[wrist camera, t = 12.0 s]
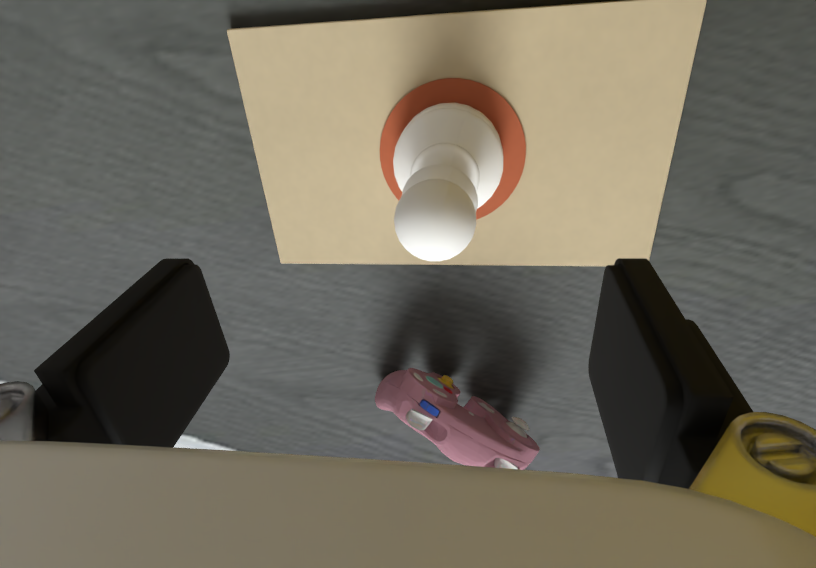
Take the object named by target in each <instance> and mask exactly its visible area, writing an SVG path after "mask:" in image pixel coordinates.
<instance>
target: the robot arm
mask: <svg viewBox="0 0 816 568" xmlns="http://www.w3.org/2000/svg"><path fill="white" fill-rule="evenodd" d="M229 357H230V356H229V349H228V346H227V344H226V341H225V338H224V335H223V332H222V329H221V326H220V323H219V320H218V317H217V315H216V312H215V309H214V306H213V303H212V300H211V297H210V294H209V291H208V289H207V286H206V283H205V280H204V277H203V274H202V271H201V269H200V267H199V266H198V265H194V263H193V262H192V261H191V260H190V259H163V260H161V261H160V262H159V263H158V264H157V265H155V266H154V267H153V268H152V269H151V270H150V271H148V272H147V273H146V274H145V275H144V276H143V277H142V278H140V279H139V280H138V281H137V282H136V283H135V284H133V285H132V286H131V287H130V288H129V289H128V290H126V291H125V292H124V293H123V294H122V295H121V296H120V297H118V298H117V299H116V300H115V301H114V302H113V303H111V304H110V305H109V306H108V307H107V308H106V309H105V310H103V311H102V312H101V313H100V314H99V315H98V316H96V317H95V318H94V319H93V320H92V321H91V322H90V323H88V324H87V325H86V326H85V327H84V328H83V329H81V330H80V331H79V332H78V333H77V334H76V335H74V336H73V337H72V338H71V339H70V340H69V341H68V342H66V343H65V344H64V345H63V346H62V347H61V348H59V349H58V350H57V351H56V352H55V353H54V354H53V355H51V356H50V357H49V358H48V359H47V360H46V361H44V362H43V363H42V364H41V365H40V366H39V367H38V368H36V369H35V370H34V372H35V373H36V375H37V376H38V378H39V379H40V381H41V382H42V385H41V386H40V387H39V388H38V389H37V390H36V391H35V389H34V388H33V386H32V385H30V384H29V383H27V382H19V381H15V382H7V383H3V384H0V568H816V430H815V429H813V428H811V427H810V426H808V425H806V424H804V423H802V422H800V421H797V420H794V419H791V418H789V417H786V416H783V415H778V414H773V413H767V412H753V411H752V409H751V408H750V406H749V404H748V403H747V401H746V400H745V398H744V397H743V395H742V394H741V392H740V391H739V389H738V387H737V386H736V384H735V383H734V381H733V380H732V378H731V377H730V375H729V374H728V372H727V371H726V369H725V367H724V366H723V364H722V363H721V361H720V360H719V358H718V357H717V355H716V354H715V352H714V351H713V349H712V347H711V346H710V344H709V343H708V341H707V340H706V338H705V337H704V335H703V334H702V332H701V331H700V329H699V327H698V326H697V325H696V324H695V323H694V322H693V321H691V320H685V318H684V316H683V315H682V313H681V312H680V310H679V308H678V307H677V305H676V304H675V302H674V300H673V299H672V297H671V296H670V294H669V292H668V291H667V289H666V288H665V286H664V284H663V283H662V281H661V280H660V278H659V276H658V275H657V273H656V272H655V270H654V268H653V267H652V265H651V264H650V262H649V261H648V260H647V259H645V258H618V259H617V260H616V261H615V263H614V265H607V266H606V268H605V271H604V277H603V283H602V288H601V294H600V300H599V306H598V311H597V317H596V323H595V329H594V334H593V340H592V346H591V352H590V358H589V377H590V381H591V384H592V388H593V391H594V395H595V398H596V402H597V405H598V409H599V412H600V416H601V419H602V423H603V426H604V429H605V433H606V436H607V440H608V443H609V447H610V450H611V454H612V457H613V461H614V464H615V468H616V471H617V475H618V478H611V477H603V476H594V475H583V474H572V473H561V472H547V471H533V470H520V469H508V468H494V467H479V466H464V465H449V464H434V463H419V462H404V461H389V460H374V459H358V458H341V457H325V456H309V455H293V454H276V453H259V452H243V451H226V450H208V449H190V448H173V447H174V445H175V444H176V442H177V441H178V439H179V438H180V436H181V435H182V433H183V432H184V430H185V429H186V427H187V426H188V424H189V423H190V421H191V420H192V418H193V417H194V415H195V414H196V412H197V411H198V409H199V408H200V406H201V405H202V403H203V402H204V400H205V398H206V397H207V395H208V394H209V392H210V391H211V389H212V388H213V386H214V385H215V383H216V382H217V380H218V379H219V377H220V376H221V374H222V373H223V371H224V370H225V368H226V367H227V365H228V362H229Z"/></svg>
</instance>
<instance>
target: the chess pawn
mask: <svg viewBox="0 0 816 568" xmlns="http://www.w3.org/2000/svg"><path fill="white" fill-rule="evenodd" d="M393 166H394V175H395V178H396V181H397V183H398V186H399V188H400V190H401V191H402V196H401V198H400V200H399V202H398V204H397V206H396V210H395V216H394V224H395V231H396V234H397V236H398V239H399V241H400V242H401V244H402V245H403V247H404V248H405V249H406V250H407V251H408V252H410V253H411V254H412V255H413V256H416V257H418V258H420V259H422V260H426V261H443V260H447V259H451V258H452V257H454V256H456V255H458V254H459V253H461V252H462V251H463V250H464V249H465V248H466V247H467V246H468V244H469V242H470V241H471V239H472V238H473V235H474V231H475V228H476V211H477V208H479V207H481V206H482V205H483V204H484V203H485V202H486V201H487V200H488V199H490V198H491V197H492V195H493V193H494V192H495V190H496V189H497V187H498V185H499V183H500V179H501V176H502V173H503V149H502V145H501V141H500V137H499V134H498V132H497V131H496V129H495V127H494V125H493V124H492V122H491V121H490V120H489V119H488V118H487V117H486V116H485V115H484V114H483V113H481V112H480V111H478V110H476V109H474V108H472V107H470V106H468V105H464V104H459V103H440V104H437V105H434V106H431V107H428V108H426V109H424V110H423V111H421V112H420V113H418V114H417V115H416V116H414V117H413V119H412V120H411V121H410V122H409V123H408V125H407V126H406V127H405V129H404V130H403V132H402V133H401V135H400V137H399V140H398V142H397V144H396V146H395V152H394V158H393Z"/></svg>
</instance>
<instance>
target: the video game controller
mask: <svg viewBox="0 0 816 568" xmlns="http://www.w3.org/2000/svg"><path fill="white" fill-rule="evenodd" d="M459 394H460V390H459V389H458V388H457V387H456V386H455V385H454V384H453V380H452V379H451V378H450V377H448V376H447V375H443V377H442V376H441V375H439V374H436V373H433V372H432V373H425V372H423V371H420V370H417V369H414V368H409V369H408V370H399V371H395V372H393V373H390V374H389V375H387V376H386V377H385V378H384V379H383V380H382V381H381V383H380V384H379V386H378V389H377V392H376V396H375V402H376V405H377V407H379V408H380V409H382V410H389V411H392V412H393V413H395V414H396V415H397V416H398V418H400V419H401V420H402V421H403V422H404V423H406V424H407V425H408V426H410V427H411V428H413V429H414V430H415V431H417V432H419V433H420V434H422V435H423V436H425V437H426V438H428V439H429V440H430V441H432V442H433V443H434V444H435V445H436V446H437V447H438V448H439V449H440V451H441V452H442V453H444V454H445V455H446V456H447V457H449V458H450V459H451V460H453V461H455V462H458V463H461V464H463V465H468V466H479V467H494V468H508V469H520V470H524V469H525V468H526V467H527V466H528V465H529V463H531V462H532V461H533V459H534V458H535V456H536V455H537V453H538V452H539V450H540V449H539V447H538V445H537V444H536V442H535V441H534V440H533V439H532V438H531V437H529V436H528V435H527V434H526V432H525V431H524V429H525V430H527V431H529V427H528V425H527V423H526V422H525V421H523V420H522V419H520V418H517V417H512V418H511V419H512V420H513V421H514V422H515V423H513V422H510V421H508V420H507V419H506V418H505V417H503V416H502V415H501V414H500V413H499V412H498V411H497V410H496V409H495V408H493V407H492V406H491V405H489V404H488V403H486V402H485V401H484V400H482V399H480V398H478V397H476V396H472V397H471V399H470V400H469V401H468V403H467V404H466V405H465V406H464V408H463V407H462V406H460V405H458V404H457V402H458V400H457V398H458V396H459Z"/></svg>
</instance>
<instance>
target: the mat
mask: <svg viewBox="0 0 816 568" xmlns="http://www.w3.org/2000/svg"><path fill="white" fill-rule="evenodd" d="M706 2H707V0H620V1H606V2H593V3H579V4H565V5H551V6H538V7H524V8H510V9H496V10H483V11H469V12H455V13H441V14H428V15H414V16H400V17H386V18H373V19H359V20H345V21H331V22H318V23H304V24H290V25H276V26H263V27H249V28H235V29H227V34H228V38H229V42H230V47H231V51H232V55H233V60H234V64H235V68H236V72H237V77H238V81H239V85H240V90H241V94H242V98H243V103H244V107H245V111H246V115H247V120H248V124H249V128H250V133H251V137H252V141H253V145H254V150H255V154H256V158H257V163H258V167H259V171H260V176H261V180H262V184H263V188H264V193H265V197H266V201H267V206H268V210H269V214H270V218H271V223H272V227H273V231H274V236H275V240H276V244H277V249H278V253H279V257H280V261H281V263H310V264H419V265H528V266H607V265H614V263H615V261H616V260H617V259H618V258H645V259H647V260H648V261H649V258H650V254H651V249H652V245H653V240H654V236H655V231H656V227H657V222H658V218H659V213H660V209H661V204H662V200H663V195H664V191H665V186H666V182H667V177H668V173H669V168H670V164H671V159H672V155H673V150H674V146H675V141H676V137H677V132H678V128H679V123H680V119H681V114H682V110H683V105H684V101H685V96H686V92H687V87H688V83H689V78H690V74H691V69H692V65H693V60H694V56H695V51H696V47H697V42H698V38H699V33H700V29H701V24H702V20H703V15H704V11H705V6H706ZM440 103H459V104H464V105H468V106H470V107H472V108H474V109H476V110H478V111H480V112H481V113H483V114H484V115H485V116H486V117H487V118H488V119H489V120H490V121H491V122H492V124H493V125H494V127H495V129H496V131H497V132H498V134H499V137H500V141H501V145H502V149H503V173H502V176H501V179H500V183H499V185H498V187H497V189H496V190H495V192H494V193H493V195H492V197H491V198H490V199H488V200H487V201H486V202H485V203H484V204H483V205H482V206H481V207H479V208H477V211H476V228H475V231H474V235H473V238H472V239H471V241H470V242H469V244H468V246H467V247H466V248H465V249H464V250H463V251H462V252H461V253H459V254H458V255H456V256H454V257H452V258H451V259H447V260H443V261H426V260H422V259H420V258H418V257H416V256H413V255H412V254H411V253H410V252H408V251H407V250H406V249H405V248H404V247H403V245H402V244H401V242H400V241H399V239H398V236H397V234H396V231H395V224H394V216H395V210H396V206H397V204H398V202H399V200H400V198H401V196H402V191H401V190H400V188H399V186H398V183H397V181H396V178H395V175H394V166H393V158H394V152H395V146H396V144H397V142H398V140H399V137H400V135H401V133H402V132H403V130H404V129H405V127H406V126H407V125H408V123H409V122H410V121H411V120H412V119H413V117H414V116H416V115H417V114H418V113H420V112H421V111H423V110H424V109H426V108H428V107H431V106H434V105H437V104H440Z"/></svg>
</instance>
